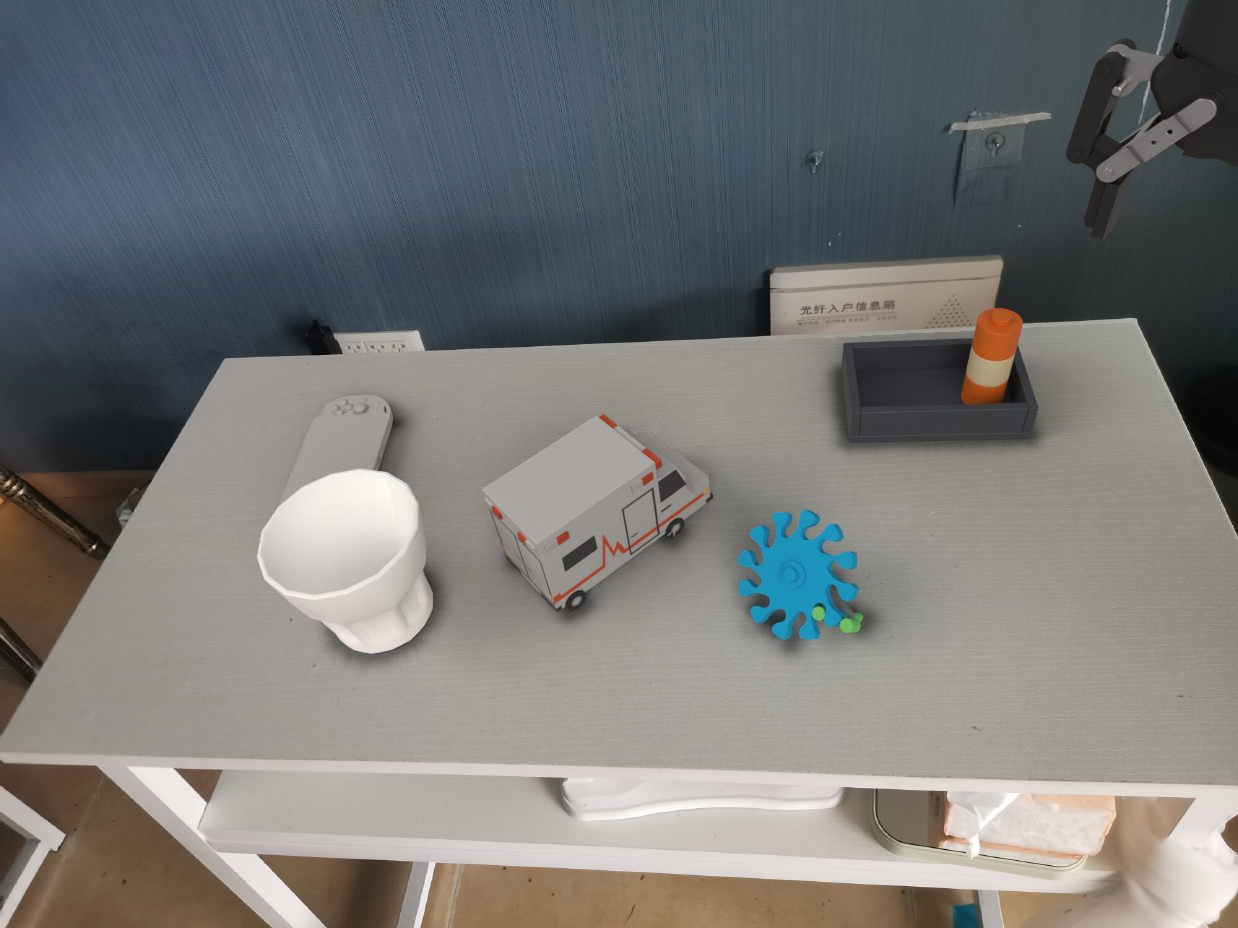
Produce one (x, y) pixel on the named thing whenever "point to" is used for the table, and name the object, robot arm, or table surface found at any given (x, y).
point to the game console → (342, 440)
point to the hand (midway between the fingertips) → (1181, 254)
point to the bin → (927, 394)
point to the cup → (352, 558)
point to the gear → (801, 577)
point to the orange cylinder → (991, 356)
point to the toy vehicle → (591, 506)
